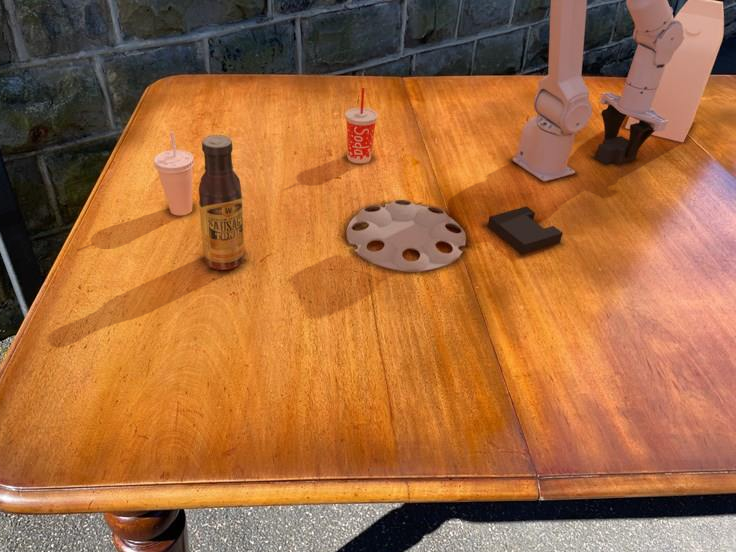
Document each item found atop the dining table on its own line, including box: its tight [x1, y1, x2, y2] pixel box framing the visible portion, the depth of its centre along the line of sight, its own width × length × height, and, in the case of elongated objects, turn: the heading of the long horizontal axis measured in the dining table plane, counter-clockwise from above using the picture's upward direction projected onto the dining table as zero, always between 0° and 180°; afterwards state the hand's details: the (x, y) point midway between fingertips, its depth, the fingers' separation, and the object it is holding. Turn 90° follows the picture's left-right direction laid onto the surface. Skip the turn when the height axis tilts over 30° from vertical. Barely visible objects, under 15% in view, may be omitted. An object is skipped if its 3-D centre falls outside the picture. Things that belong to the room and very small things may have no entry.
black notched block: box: [594, 135, 640, 165], centre depth 127 cm, size 5×7×3 cm
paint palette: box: [346, 199, 467, 273], centre depth 104 cm, size 20×20×2 cm
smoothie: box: [153, 130, 195, 216], centre depth 104 cm, size 6×6×14 cm
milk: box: [624, 0, 725, 143], centre depth 132 cm, size 12×12×26 cm
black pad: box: [487, 206, 564, 255], centre depth 105 cm, size 9×8×2 cm
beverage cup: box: [344, 87, 379, 165], centre depth 120 cm, size 6×6×14 cm
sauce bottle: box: [198, 134, 245, 271], centre depth 92 cm, size 6×6×20 cm
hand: (619, 150), depth 127 cm, fingers closed on black notched block, 5 cm apart
